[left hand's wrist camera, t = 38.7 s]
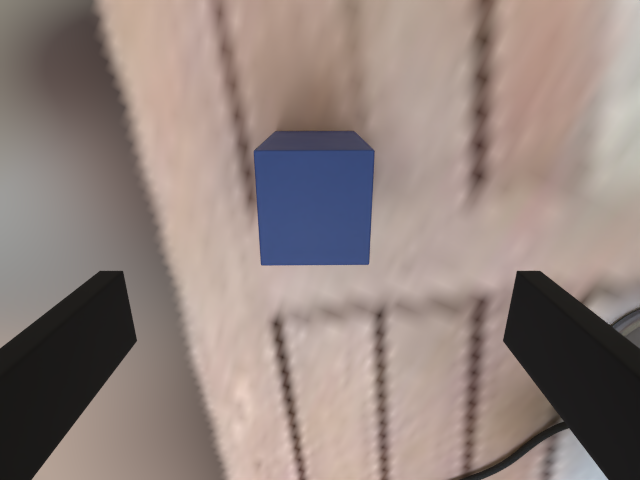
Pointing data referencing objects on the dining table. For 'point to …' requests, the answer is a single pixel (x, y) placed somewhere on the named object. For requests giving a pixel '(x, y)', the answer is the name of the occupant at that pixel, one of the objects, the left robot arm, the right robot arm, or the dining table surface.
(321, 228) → the brick
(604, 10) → the dining table surface
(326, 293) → the dining table surface
